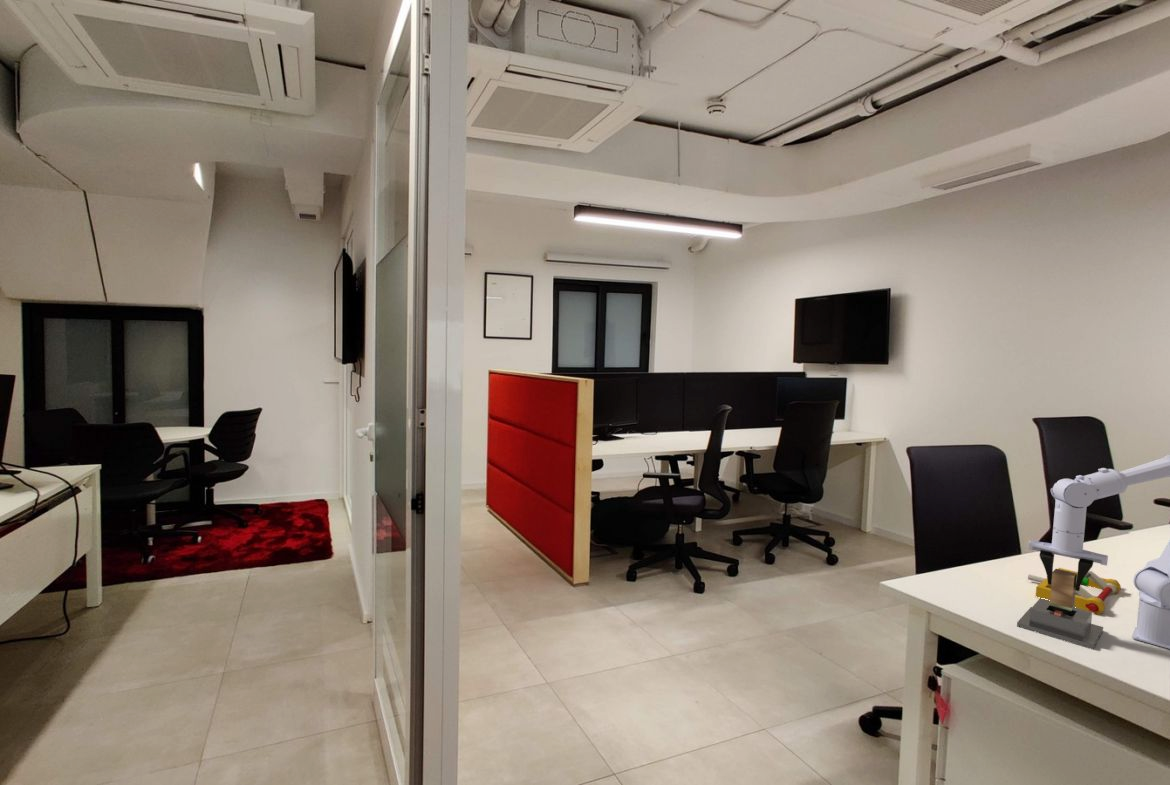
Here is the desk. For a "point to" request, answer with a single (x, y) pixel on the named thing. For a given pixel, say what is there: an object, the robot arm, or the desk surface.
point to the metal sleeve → (1062, 623)
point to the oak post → (1063, 589)
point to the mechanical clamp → (1083, 591)
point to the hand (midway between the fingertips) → (1063, 586)
